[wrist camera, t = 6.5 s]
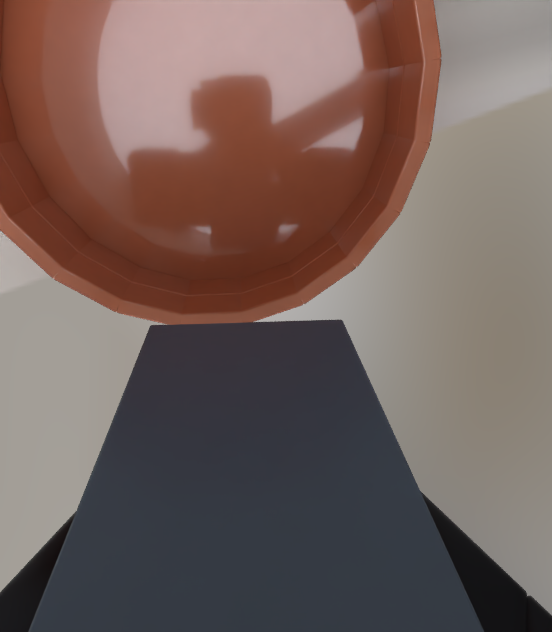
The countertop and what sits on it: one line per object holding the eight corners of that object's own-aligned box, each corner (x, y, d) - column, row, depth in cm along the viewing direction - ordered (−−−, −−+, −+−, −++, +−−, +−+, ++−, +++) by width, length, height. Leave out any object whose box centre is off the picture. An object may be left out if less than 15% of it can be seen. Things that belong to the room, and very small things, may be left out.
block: (342, 319, 10) (576, 825, 3) (331, 461, 12) (458, 976, 5) (150, 324, 10) (-80, 894, 3) (169, 469, 12) (62, 1027, 5)
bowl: (422, -164, 14) (483, -252, 11) (379, 280, 21) (408, 318, 17) (-74, -172, 13) (-190, -271, 10) (48, 293, 20) (6, 336, 16)
